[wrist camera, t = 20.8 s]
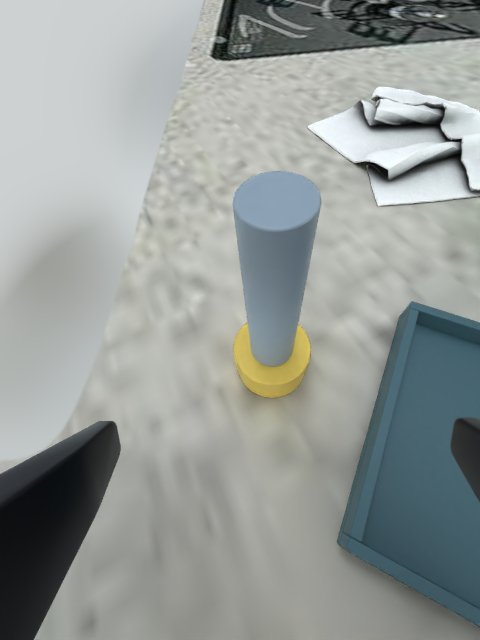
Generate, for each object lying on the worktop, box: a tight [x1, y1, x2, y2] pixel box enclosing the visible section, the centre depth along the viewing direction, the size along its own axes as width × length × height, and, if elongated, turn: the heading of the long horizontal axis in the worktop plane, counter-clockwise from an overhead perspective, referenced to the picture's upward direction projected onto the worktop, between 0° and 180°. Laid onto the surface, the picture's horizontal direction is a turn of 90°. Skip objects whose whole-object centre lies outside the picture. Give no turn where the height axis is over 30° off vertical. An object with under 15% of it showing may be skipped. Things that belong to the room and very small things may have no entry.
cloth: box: [307, 86, 480, 206], centre depth 31 cm, size 20×22×2 cm
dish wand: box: [233, 171, 321, 398], centre depth 15 cm, size 5×5×14 cm
